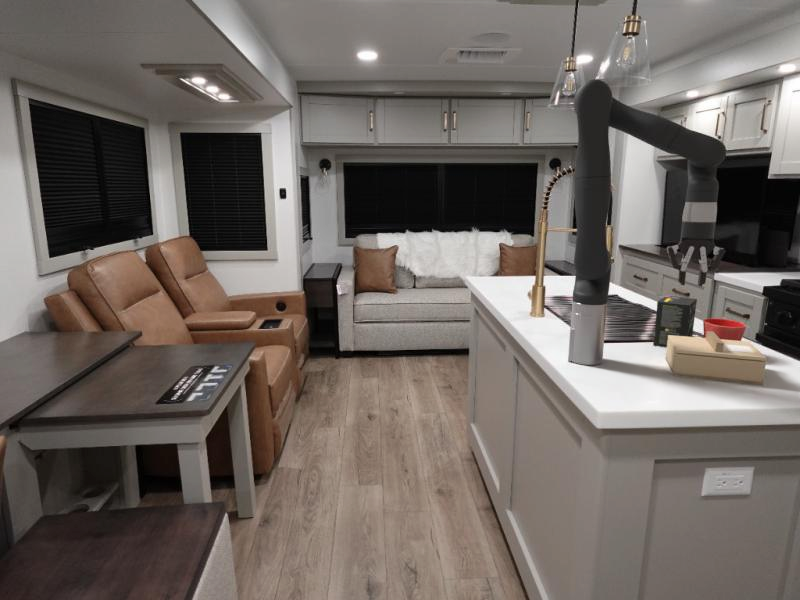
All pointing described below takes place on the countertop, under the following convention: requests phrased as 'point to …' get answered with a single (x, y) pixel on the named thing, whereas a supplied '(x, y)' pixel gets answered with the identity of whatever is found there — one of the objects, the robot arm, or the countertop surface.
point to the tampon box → (674, 318)
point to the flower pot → (724, 328)
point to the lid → (715, 347)
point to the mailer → (715, 367)
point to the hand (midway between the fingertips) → (691, 285)
